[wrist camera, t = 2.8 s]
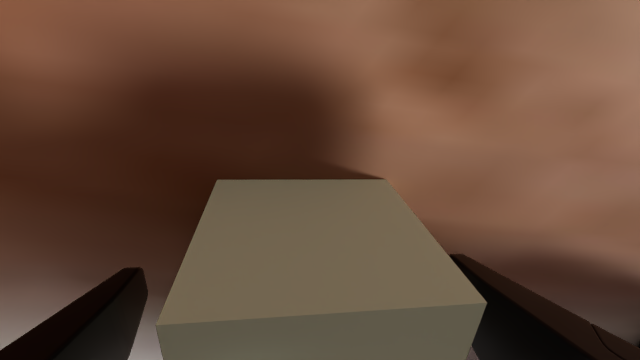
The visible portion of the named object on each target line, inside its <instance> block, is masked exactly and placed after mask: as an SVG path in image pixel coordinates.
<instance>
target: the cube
mask: <svg viewBox="0 0 640 360" xmlns="http://www.w3.org/2000/svg"><path fill="white" fill-rule="evenodd" d="M486 305H487V302H486V301H485V300H484V298H483V297H482V296H481V295H480V293H479V292H478V291H477V290H476V288H475V287H474V286H473V285H472V284H471V282H470V281H469V280H468V279H467V277H466V276H465V275H464V274H463V273H462V271H461V270H460V269H459V268H458V266H457V265H456V264H455V263H454V262H453V260H452V259H451V258H450V257H449V255H448V254H447V253H446V252H445V251H444V249H443V248H442V247H441V246H440V244H439V243H438V242H437V241H436V240H435V238H434V237H433V236H432V235H431V233H430V232H429V231H428V230H427V229H426V227H425V226H424V225H423V224H422V222H421V221H420V220H419V219H418V218H417V216H416V215H415V214H414V213H413V211H412V210H411V209H410V208H409V207H408V205H407V204H406V203H405V202H404V200H403V199H402V198H401V197H400V196H399V194H398V193H397V192H396V191H395V189H394V188H393V187H392V186H391V185H390V183H389V182H388V181H387V180H386V179H328V180H217V181H216V183H215V186H214V188H213V191H212V193H211V195H210V198H209V200H208V202H207V205H206V207H205V209H204V212H203V214H202V217H201V219H200V221H199V224H198V226H197V228H196V231H195V233H194V236H193V238H192V240H191V243H190V245H189V247H188V250H187V252H186V255H185V257H184V259H183V262H182V264H181V266H180V269H179V271H178V273H177V276H176V278H175V281H174V283H173V285H172V288H171V290H170V292H169V295H168V297H167V300H166V302H165V304H164V307H163V309H162V311H161V314H160V316H159V318H158V321H157V323H156V329H157V334H158V338H159V343H160V347H161V352H162V356H163V360H466V358H467V356H468V353H469V350H470V348H471V345H472V342H473V340H474V337H475V334H476V332H477V329H478V326H479V323H480V321H481V318H482V315H483V313H484V310H485V307H486Z"/></svg>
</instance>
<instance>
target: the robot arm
mask: <svg viewBox="0 0 640 360" xmlns="http://www.w3.org/2000/svg"><path fill="white" fill-rule="evenodd" d="M449 257H450V258H451V259H452V260H453V262H454V263H455V264H456V265H457V266H458V268H459V269H460V270H461V271H462V273H463V274H464V275H465V276H466V277H467V279H468V280H469V281H470V282H471V284H472V285H473V286H474V287H475V288H476V290H477V291H478V292H479V293H480V295H481V296H482V297H483V298H484V300H485V301H486V302H487V305H486V307H485V310H484V313H483V315H482V318H481V321H480V323H479V326H478V329H477V332H476V334H475V337H474V340H473V342H472V347H473V349H474V351H475V353H476V355H477V356H478V358H479V360H640V348H638V347H636V346H634V345H632V344H630V343H628V342H626V341H624V340H623V339H621V338H619V337H617V336H615V335H613V334H611V333H609V332H607V331H605V330H604V329H602V328H600V327H598V326H596V325H594V324H590V322H588V321H587V320H585V319H583V318H581V317H579V316H577V315H575V314H573V313H572V312H570V311H568V310H566V309H564V308H562V307H560V306H559V305H557V304H555V303H553V302H551V301H549V300H547V299H545V298H544V297H542V296H540V295H538V294H536V293H534V292H532V291H530V290H529V289H527V288H525V287H523V286H521V285H519V284H517V283H515V282H514V281H512V280H510V279H508V278H506V277H504V276H502V275H501V274H499V273H497V272H495V271H493V270H491V269H489V268H487V267H486V266H484V265H482V264H480V263H478V262H476V261H474V260H472V259H471V258H469V257H467V256H465V255H463V254H450V255H449ZM147 296H148V290H147V285H146V281H145V276H144V272H143V270H142V268H140V267H130V268H124V269H122V270H120V271H119V272H117V273H116V274H114V275H113V276H111V277H110V278H108V279H107V280H105V281H104V282H102V283H101V284H99V285H98V286H96V287H95V288H93V289H92V290H90V291H89V292H87V293H86V294H84V295H83V296H81V297H80V298H78V299H77V300H75V301H74V302H72V303H71V304H69V305H68V306H66V307H65V308H63V309H62V310H60V311H59V312H57V313H56V314H54V315H53V316H51V317H50V318H48V319H47V320H45V321H44V322H42V323H41V324H39V325H38V326H36V327H35V328H33V329H32V330H30V331H29V332H27V333H26V334H24V335H23V336H21V337H20V338H18V339H17V340H15V341H14V342H12V343H11V344H9V345H8V346H6V347H5V348H3V349H2V350H0V360H128V357H129V355H130V352H131V349H132V346H133V343H134V340H135V336H136V333H137V330H138V327H139V323H140V320H141V317H142V313H143V310H144V307H145V304H146V300H147Z"/></svg>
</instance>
